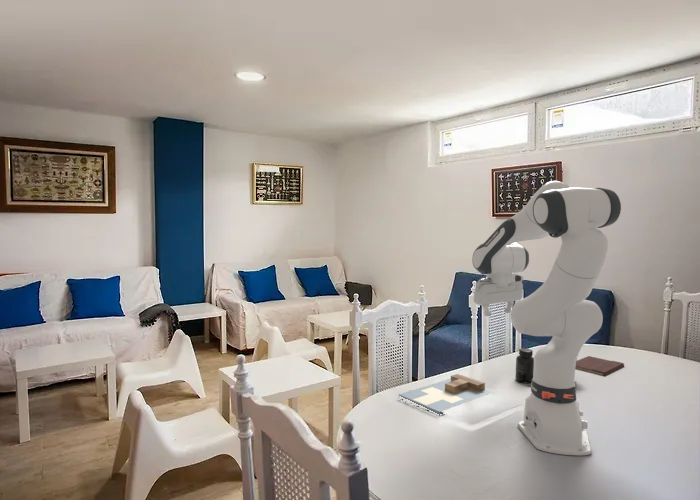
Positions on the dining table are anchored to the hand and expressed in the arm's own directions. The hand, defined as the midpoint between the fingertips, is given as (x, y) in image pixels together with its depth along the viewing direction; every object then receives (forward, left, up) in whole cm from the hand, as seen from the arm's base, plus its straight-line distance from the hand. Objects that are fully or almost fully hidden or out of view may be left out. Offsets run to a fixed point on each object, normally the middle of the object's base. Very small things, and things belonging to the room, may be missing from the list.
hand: (497, 314), depth 171 cm
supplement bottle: (+9, -12, -27) cm, 31 cm away
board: (-15, +18, -27) cm, 36 cm away
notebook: (+34, -45, -28) cm, 63 cm away
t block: (-9, +13, -26) cm, 30 cm away
